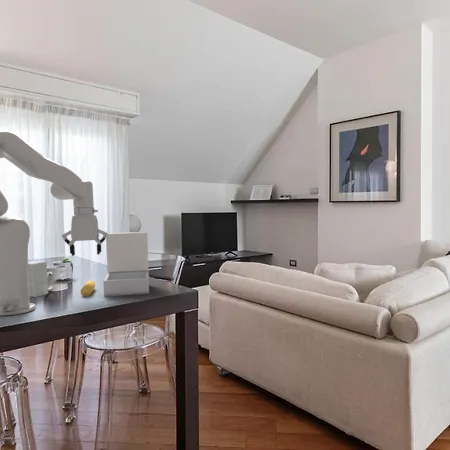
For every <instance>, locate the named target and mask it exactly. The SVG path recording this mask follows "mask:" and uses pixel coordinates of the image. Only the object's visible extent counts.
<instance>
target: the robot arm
mask: <svg viewBox="0 0 450 450" xmlns="http://www.w3.org/2000/svg"><path fill="white" fill-rule="evenodd" d="M3 158H4V159H6V160H8V162H10V163H11V164H12V165H14V166H15V167H17V168H18V169H19V170H20V171H22V172H23V173H25V174H26V175H27V176H30V177H32V178H35V179H38V180H42V181H46V182H50V183H52V184H51V186H50V194H51V195H52V196H53V197H54V198H55V199H57V200H62V201H63V200H64V201H65V200H73V203H72V204H73V215H72V216H71V224H70V230H69V231H67V232H64V233H62V235H61V237H62V239H63V240H64V242H65V243H66V244H67V245H68V246H69V253H70V254H71V256H72V257H73V256H75V255H76V249H75V243H76V242H79V241H80V242H81V241H82V242H84V241H95V242H96V243H97V244H96V255H100V254H101V253H102V244H103V243H104V242H105V241H106V237H107V235H108V233H109V232H106V231H104V230H101V229H99V221H98V217H97V214H96V213H98V212H99V211H98V208H95V204H94V187H93V186H94V185H93V182H92V181H90V180H82V178H80V177H79V175H77V174H76V173H75V172H74V171H72V170H71V169H69V168H67V167H66V166H64V165H62V164H60V163H58V162H56V161H54V160H51V159H49V158H47V157H46V156H44V155H43V154H42V153H40V152H39V151H38V150H36V149H35V148H34V147H33V146H32V145H30V144H29V143H28V141H26V140H25V139H23V138H22V137H20V135H19V134H17V133H15V132H13V131H11V130H3V131H0V159H3ZM8 208H9V203H8V200H7V199H6V197H5V196H4V194H3V192H2V191H1V190H0V316H15V315H20V314H26V313H30V312H31V311H34V310H35V309H36V304H35V303H32V302H31V297H30V292H29V270H28V262H29V243H30V237H31V236H30V235H31V232H30V231H31V230H30V226H29V224H28V223H27V222H26V221H25V220H24V219H22V218H21V217H19V216H18V217H17V216H5V214H7V211H8ZM100 234H101V235H103V236H102V238H101V239H100V238H99V237H100ZM69 235H70V238H71V240H70V239H68V236H69Z"/></svg>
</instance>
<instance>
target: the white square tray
mask: <svg viewBox="0 0 450 450" xmlns="http://www.w3.org/2000/svg"><path fill="white" fill-rule="evenodd" d="M149 279H150V278H149V270H148V271H146V272H126V273H108V272H107V274H106V276H105V278H104V279H103V296H104V297H113V296H115V297H117V296H131V295H132V296H133V295H134V294H135V295H149V294H150V280H149ZM135 295H134V296H135Z"/></svg>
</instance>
